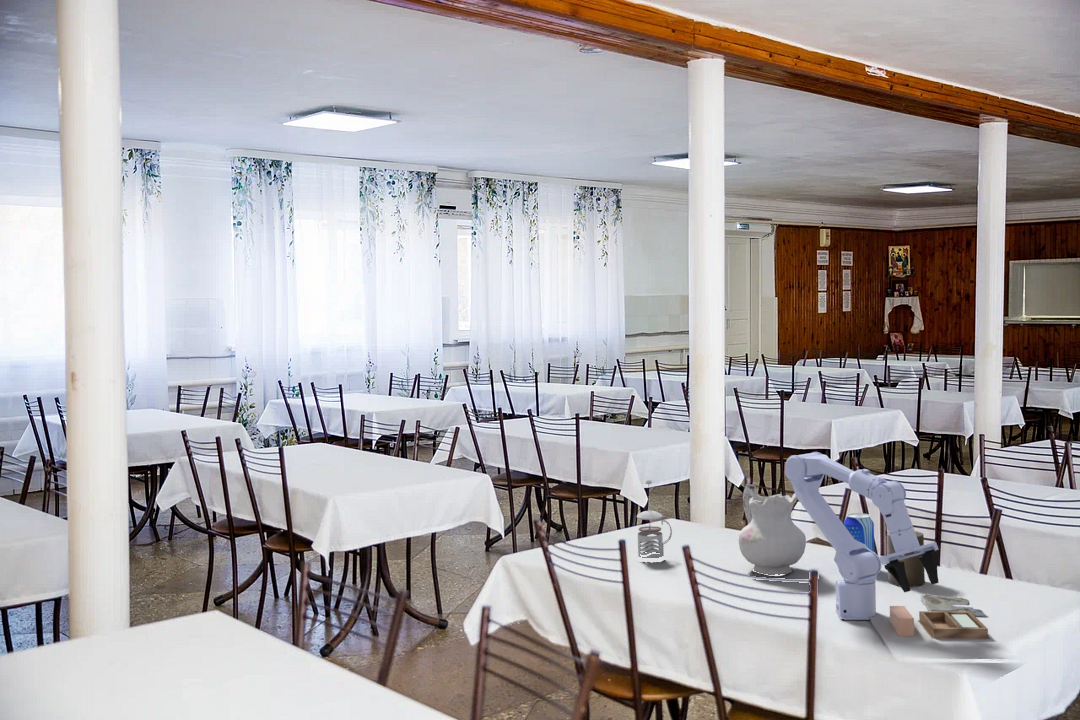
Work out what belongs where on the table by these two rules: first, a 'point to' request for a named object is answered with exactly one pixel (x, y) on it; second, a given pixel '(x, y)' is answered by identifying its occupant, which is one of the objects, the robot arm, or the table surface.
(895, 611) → the clay bar
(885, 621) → the table surface
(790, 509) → the ceramic pitcher
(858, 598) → the robot arm
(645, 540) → the french press
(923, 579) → the pillar candle
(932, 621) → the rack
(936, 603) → the fossil rock
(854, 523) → the beer can
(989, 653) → the table surface
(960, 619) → the glazed tile
